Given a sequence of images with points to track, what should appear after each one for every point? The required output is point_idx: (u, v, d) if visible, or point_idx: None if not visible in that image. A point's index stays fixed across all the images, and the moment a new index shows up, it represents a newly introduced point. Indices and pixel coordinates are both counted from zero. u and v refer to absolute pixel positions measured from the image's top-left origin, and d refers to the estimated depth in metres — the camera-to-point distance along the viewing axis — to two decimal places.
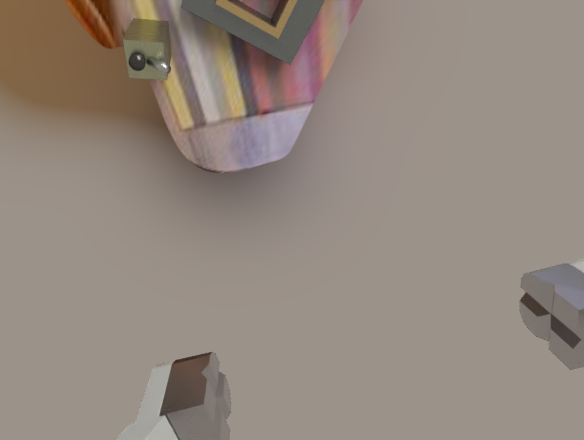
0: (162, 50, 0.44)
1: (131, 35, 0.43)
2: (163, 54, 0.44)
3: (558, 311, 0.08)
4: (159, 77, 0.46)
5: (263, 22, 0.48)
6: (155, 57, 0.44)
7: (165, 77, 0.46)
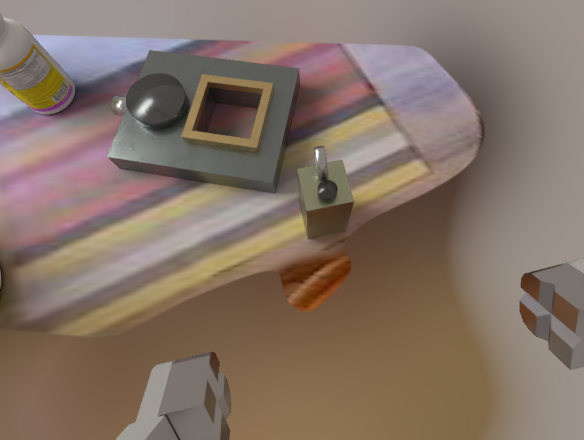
0: (306, 168, 0.35)
1: (305, 211, 0.35)
2: (311, 167, 0.35)
3: (558, 311, 0.08)
4: (341, 167, 0.35)
5: (261, 100, 0.44)
6: (317, 174, 0.35)
7: (339, 161, 0.35)
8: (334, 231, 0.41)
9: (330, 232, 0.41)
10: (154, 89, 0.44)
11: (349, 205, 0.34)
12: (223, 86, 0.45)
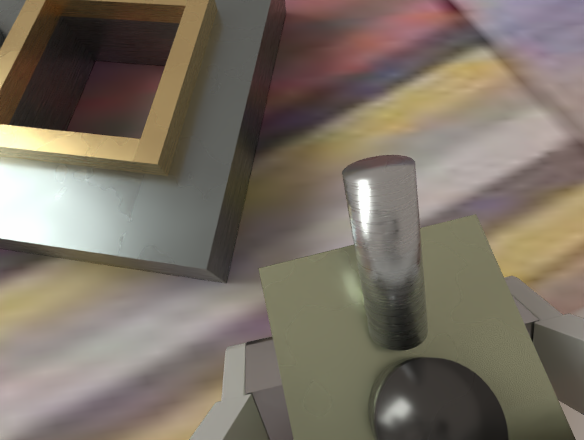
0: (304, 266, 0.07)
1: None
2: (326, 257, 0.07)
3: None
4: (480, 258, 0.07)
5: (179, 35, 0.16)
6: (360, 299, 0.07)
7: (463, 224, 0.07)
8: None
9: None
10: None
11: None
12: (89, 9, 0.18)
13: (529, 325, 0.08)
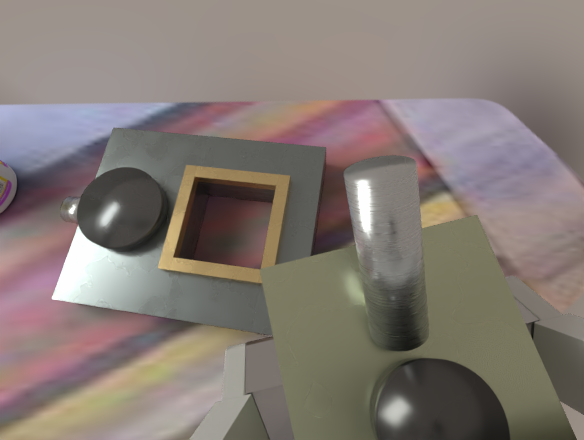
0: (305, 266, 0.07)
1: None
2: (327, 258, 0.07)
3: None
4: (481, 259, 0.07)
5: (274, 205, 0.29)
6: (361, 300, 0.07)
7: (464, 225, 0.07)
8: None
9: None
10: (117, 193, 0.30)
11: None
12: (217, 181, 0.31)
13: (529, 325, 0.08)
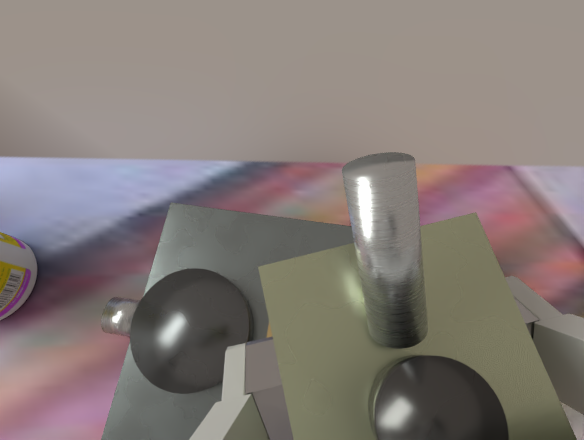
0: (303, 264, 0.07)
1: None
2: (326, 255, 0.07)
3: None
4: (480, 256, 0.07)
5: None
6: (360, 298, 0.07)
7: (463, 222, 0.07)
8: None
9: None
10: (187, 308, 0.22)
11: None
12: None
13: (529, 325, 0.08)
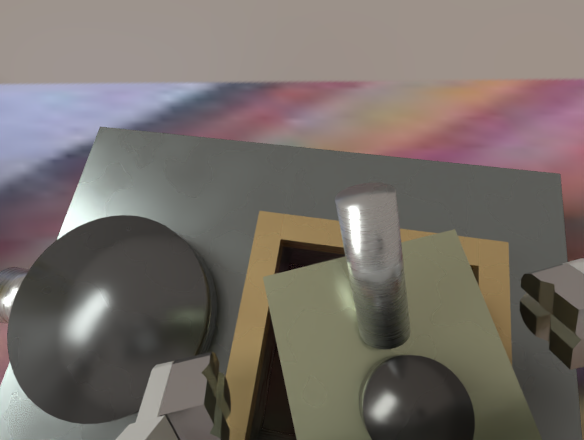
0: (303, 274, 0.08)
1: None
2: (322, 267, 0.08)
3: (558, 311, 0.08)
4: (457, 268, 0.08)
5: None
6: (352, 305, 0.08)
7: (443, 238, 0.08)
8: None
9: None
10: (104, 279, 0.13)
11: None
12: (331, 249, 0.14)
13: None
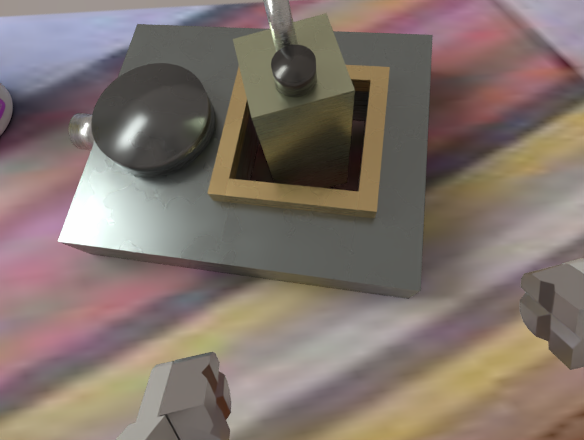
0: (252, 36, 0.17)
1: None
2: (261, 33, 0.17)
3: (558, 311, 0.08)
4: (325, 28, 0.16)
5: (370, 105, 0.21)
6: None
7: (320, 17, 0.17)
8: (326, 183, 0.23)
9: (319, 185, 0.23)
10: (147, 96, 0.22)
11: (346, 105, 0.16)
12: None
13: None
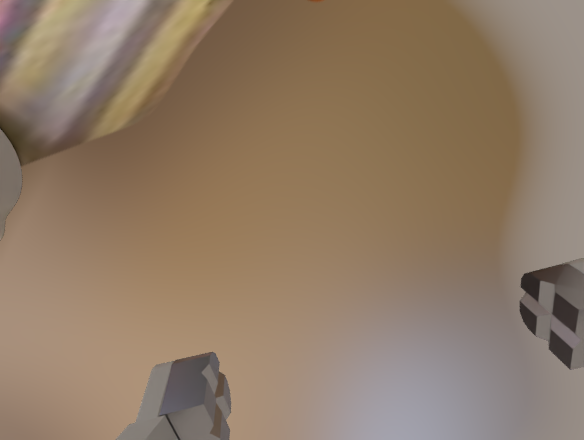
0: None
1: None
2: None
3: (558, 311, 0.08)
4: None
5: None
6: None
7: None
8: None
9: None
10: None
11: None
12: None
13: None
